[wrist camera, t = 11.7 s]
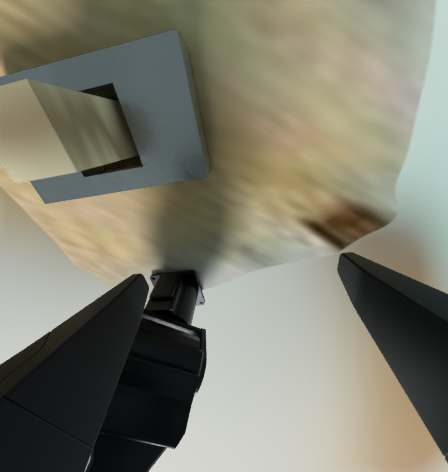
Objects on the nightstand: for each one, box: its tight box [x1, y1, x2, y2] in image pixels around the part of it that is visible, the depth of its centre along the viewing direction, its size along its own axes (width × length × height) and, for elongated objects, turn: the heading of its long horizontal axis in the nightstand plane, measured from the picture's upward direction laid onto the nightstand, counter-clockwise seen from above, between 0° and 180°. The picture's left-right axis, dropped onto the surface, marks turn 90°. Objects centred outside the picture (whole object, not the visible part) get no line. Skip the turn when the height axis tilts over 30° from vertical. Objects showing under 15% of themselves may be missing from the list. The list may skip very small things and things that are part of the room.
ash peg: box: [0, 79, 139, 184], centre depth 13 cm, size 4×4×9 cm
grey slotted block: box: [0, 29, 211, 204], centre depth 16 cm, size 9×16×3 cm, turn 100°
